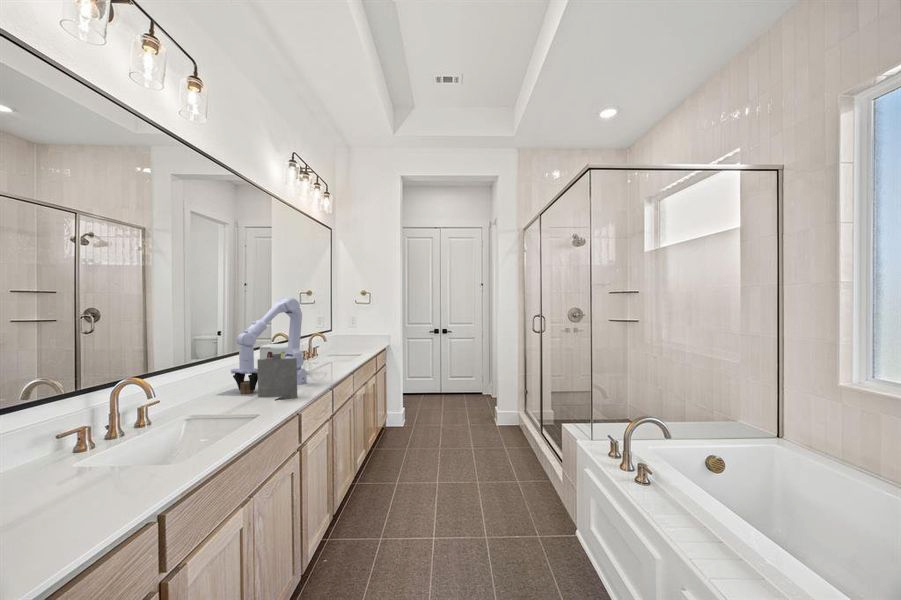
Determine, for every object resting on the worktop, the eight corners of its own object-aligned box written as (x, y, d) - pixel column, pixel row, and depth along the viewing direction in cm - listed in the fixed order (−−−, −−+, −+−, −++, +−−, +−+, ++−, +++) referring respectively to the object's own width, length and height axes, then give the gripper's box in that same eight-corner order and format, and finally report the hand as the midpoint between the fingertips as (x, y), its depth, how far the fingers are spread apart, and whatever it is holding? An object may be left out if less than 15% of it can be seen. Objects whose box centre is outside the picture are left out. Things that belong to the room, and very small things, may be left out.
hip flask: (298, 396, 163) (297, 351, 163) (295, 399, 159) (295, 353, 159) (259, 399, 160) (258, 353, 160) (256, 401, 156) (255, 354, 156)
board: (269, 392, 171) (269, 389, 171) (251, 399, 159) (251, 396, 159) (234, 391, 174) (234, 388, 174) (214, 398, 162) (214, 395, 162)
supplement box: (259, 379, 201) (258, 346, 201) (268, 374, 214) (268, 343, 214) (291, 378, 203) (291, 345, 203) (299, 373, 216) (299, 343, 216)
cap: (256, 391, 167) (256, 380, 167) (248, 394, 162) (247, 383, 162) (246, 391, 168) (245, 380, 168) (237, 394, 163) (237, 382, 163)
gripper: (225, 360, 162) (225, 391, 162) (255, 361, 160) (255, 392, 160) (237, 358, 169) (237, 387, 169) (265, 358, 167) (266, 388, 167)
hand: (247, 389), depth 165 cm, fingers closed on cap, 5 cm apart
